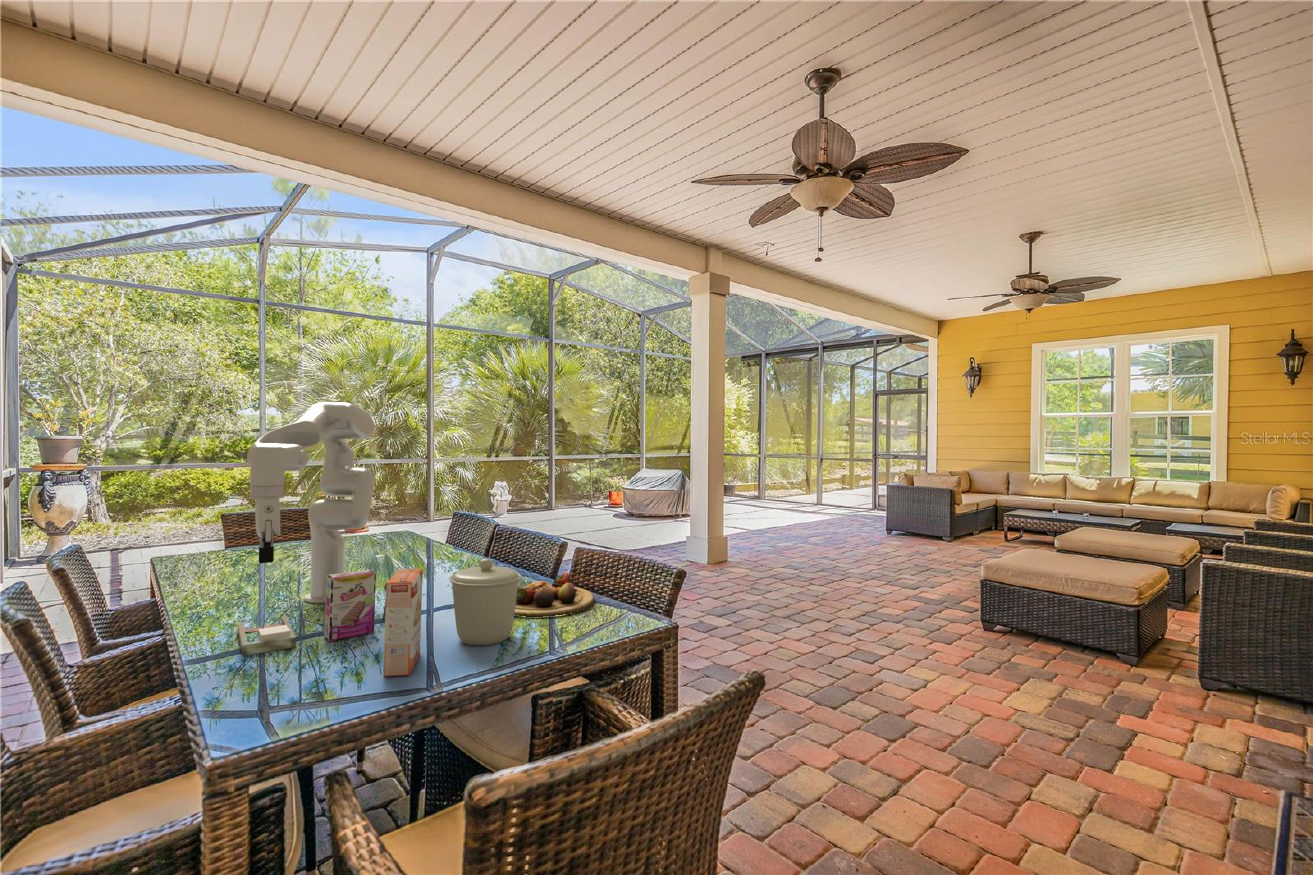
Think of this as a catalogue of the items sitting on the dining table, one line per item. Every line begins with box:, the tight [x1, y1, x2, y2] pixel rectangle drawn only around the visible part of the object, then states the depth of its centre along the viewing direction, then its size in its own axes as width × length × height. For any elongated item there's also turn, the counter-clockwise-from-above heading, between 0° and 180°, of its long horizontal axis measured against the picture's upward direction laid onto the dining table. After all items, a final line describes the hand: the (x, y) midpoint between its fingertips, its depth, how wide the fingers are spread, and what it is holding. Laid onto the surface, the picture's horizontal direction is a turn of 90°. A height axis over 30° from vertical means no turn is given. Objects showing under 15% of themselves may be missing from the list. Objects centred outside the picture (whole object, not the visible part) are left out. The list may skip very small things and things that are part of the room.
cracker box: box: [383, 568, 424, 677], centre depth 140 cm, size 14×6×21 cm, turn 12°
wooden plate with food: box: [514, 572, 595, 617], centre depth 194 cm, size 32×32×8 cm
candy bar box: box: [323, 569, 377, 643], centre depth 160 cm, size 11×5×16 cm, turn 134°
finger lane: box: [237, 615, 297, 656], centre depth 157 cm, size 11×23×2 cm, turn 37°
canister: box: [449, 558, 522, 646], centre depth 159 cm, size 18×18×21 cm
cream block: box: [257, 624, 290, 642], centre depth 152 cm, size 6×6×4 cm
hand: (266, 562), depth 160 cm, fingers closed
